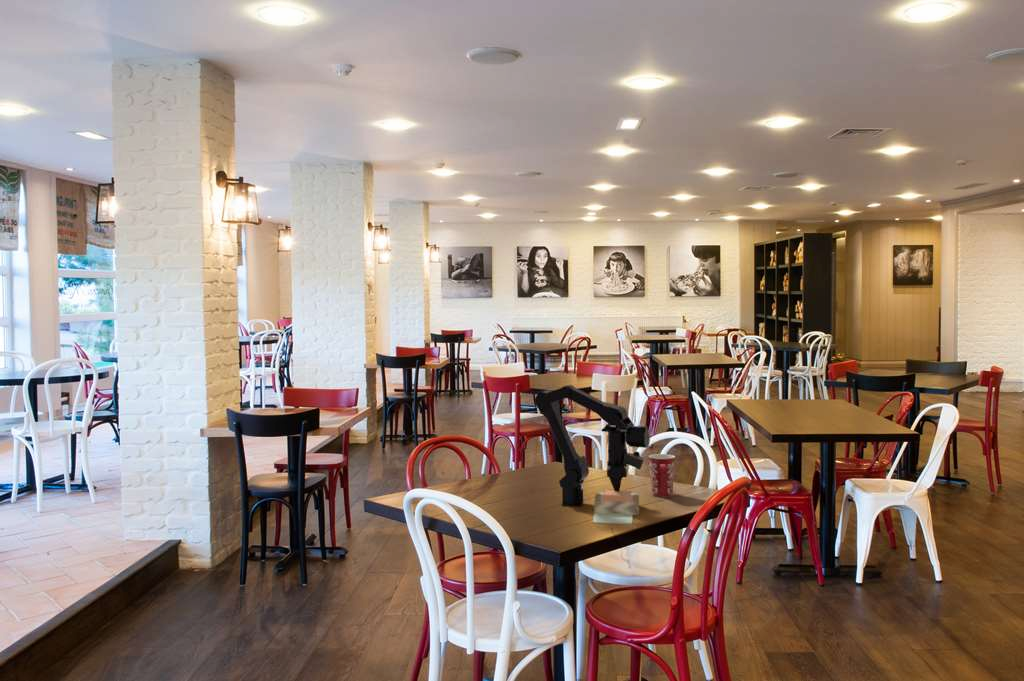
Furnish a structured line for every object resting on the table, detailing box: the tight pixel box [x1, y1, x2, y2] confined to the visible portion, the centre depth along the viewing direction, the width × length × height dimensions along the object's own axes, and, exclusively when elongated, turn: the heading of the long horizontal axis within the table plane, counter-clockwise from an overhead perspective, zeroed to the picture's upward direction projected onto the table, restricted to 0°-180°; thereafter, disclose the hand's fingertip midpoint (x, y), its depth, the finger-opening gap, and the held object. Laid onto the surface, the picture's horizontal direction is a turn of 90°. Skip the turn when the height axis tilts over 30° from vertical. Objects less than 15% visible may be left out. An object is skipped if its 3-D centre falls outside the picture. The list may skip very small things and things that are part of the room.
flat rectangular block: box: [602, 490, 632, 502], centre depth 269 cm, size 9×6×2 cm, turn 82°
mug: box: [648, 453, 676, 498], centre depth 289 cm, size 13×9×14 cm
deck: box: [593, 491, 640, 516], centre depth 272 cm, size 14×12×4 cm
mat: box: [592, 513, 634, 525], centre depth 261 cm, size 12×11×1 cm
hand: (617, 493), depth 273 cm, fingers closed
